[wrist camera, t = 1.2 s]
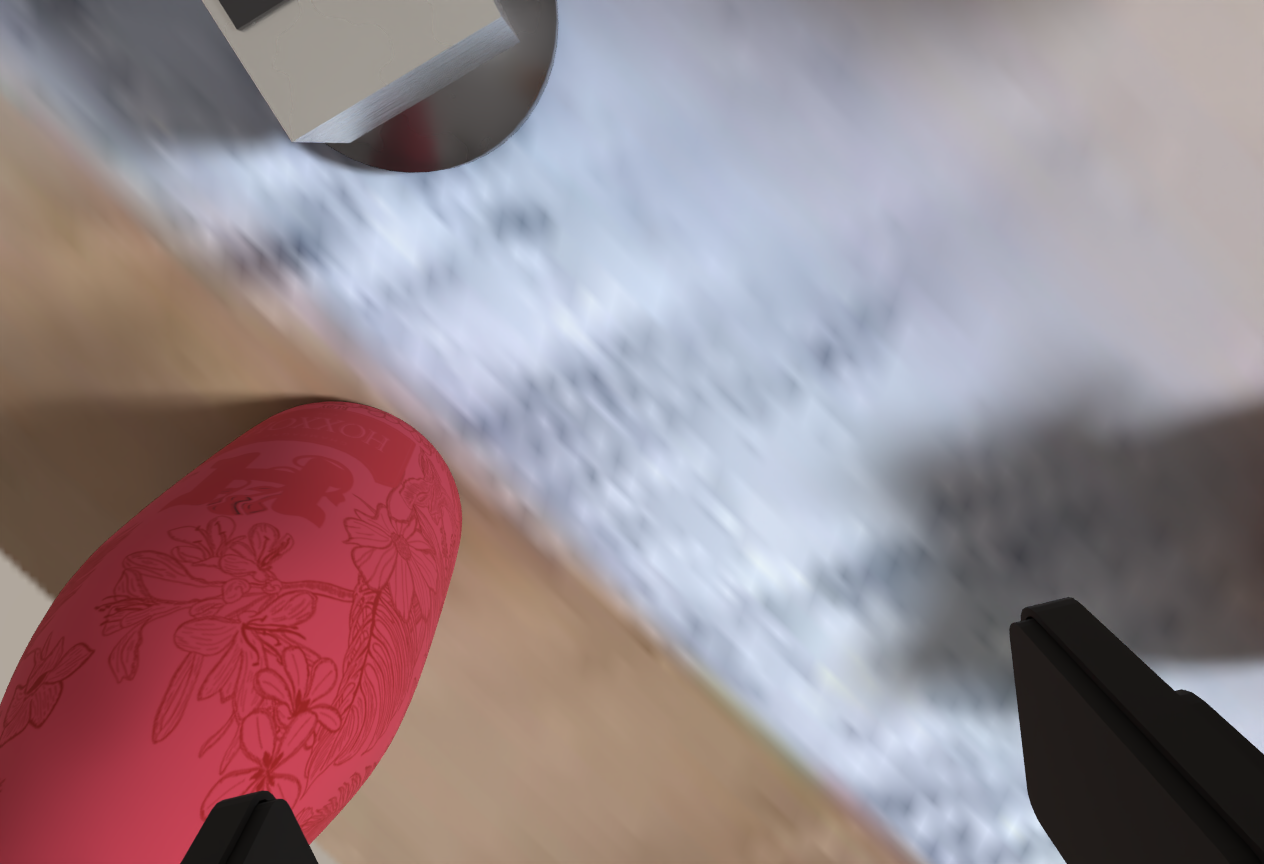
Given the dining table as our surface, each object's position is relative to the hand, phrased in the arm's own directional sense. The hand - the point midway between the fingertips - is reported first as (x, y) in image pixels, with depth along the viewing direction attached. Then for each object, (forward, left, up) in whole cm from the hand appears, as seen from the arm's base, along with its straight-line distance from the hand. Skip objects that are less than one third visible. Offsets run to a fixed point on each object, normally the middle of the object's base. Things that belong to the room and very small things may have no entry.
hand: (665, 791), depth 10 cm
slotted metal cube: (+1, -14, -19) cm, 23 cm away
